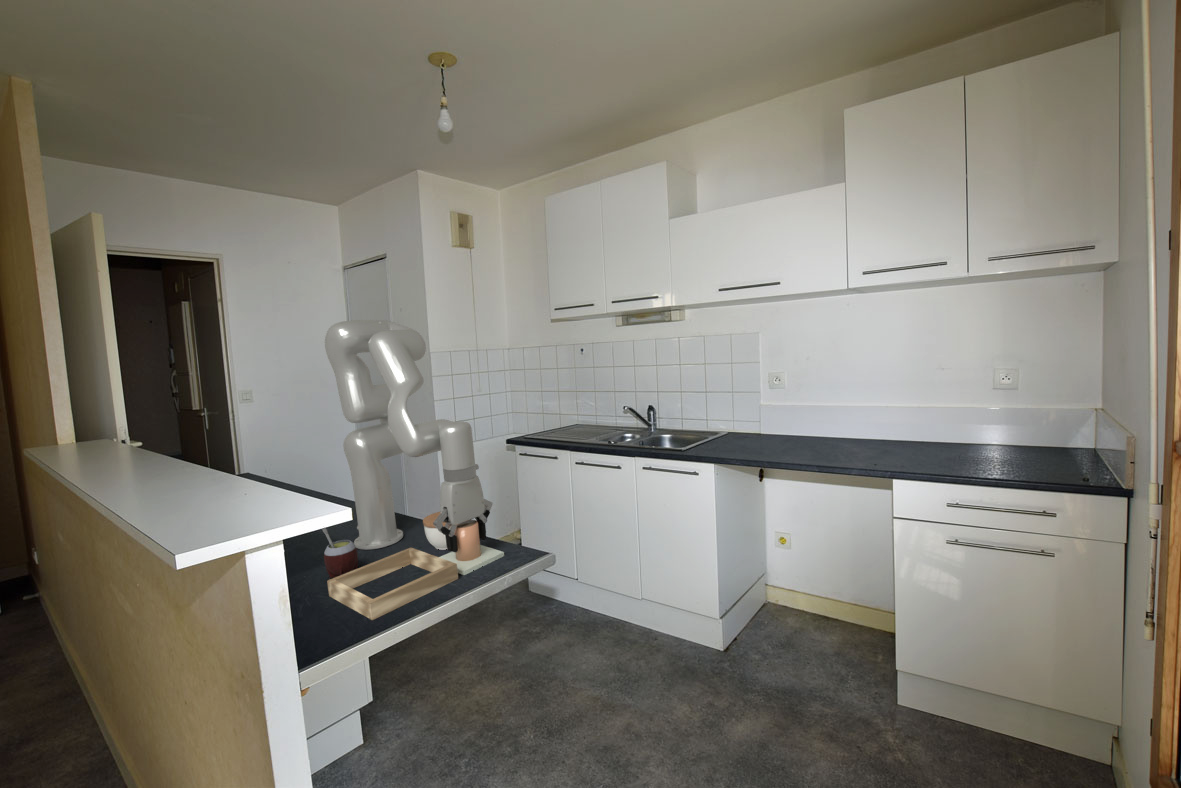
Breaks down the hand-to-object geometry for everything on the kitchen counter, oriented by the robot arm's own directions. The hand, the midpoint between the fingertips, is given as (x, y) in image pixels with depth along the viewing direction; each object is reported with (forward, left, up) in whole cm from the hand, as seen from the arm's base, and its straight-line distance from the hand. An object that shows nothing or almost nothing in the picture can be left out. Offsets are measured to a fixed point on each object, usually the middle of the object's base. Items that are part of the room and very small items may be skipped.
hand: (467, 544), depth 130 cm
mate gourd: (-19, -22, -4) cm, 29 cm away
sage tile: (0, 0, -4) cm, 4 cm away
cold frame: (-3, -18, -4) cm, 19 cm away
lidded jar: (-13, +3, -4) cm, 14 cm away
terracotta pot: (0, 0, -3) cm, 3 cm away
